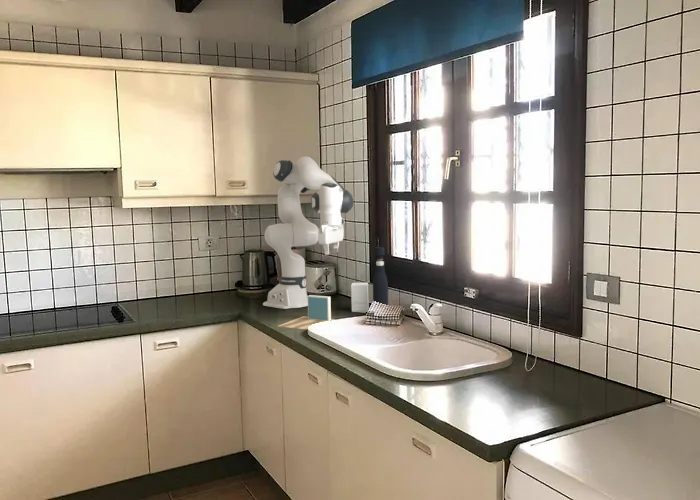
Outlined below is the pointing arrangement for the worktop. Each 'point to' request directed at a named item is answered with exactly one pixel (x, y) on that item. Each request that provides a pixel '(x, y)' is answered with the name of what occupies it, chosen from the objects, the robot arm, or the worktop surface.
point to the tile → (319, 308)
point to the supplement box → (359, 297)
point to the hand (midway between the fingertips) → (331, 253)
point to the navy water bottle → (380, 279)
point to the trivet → (301, 323)
